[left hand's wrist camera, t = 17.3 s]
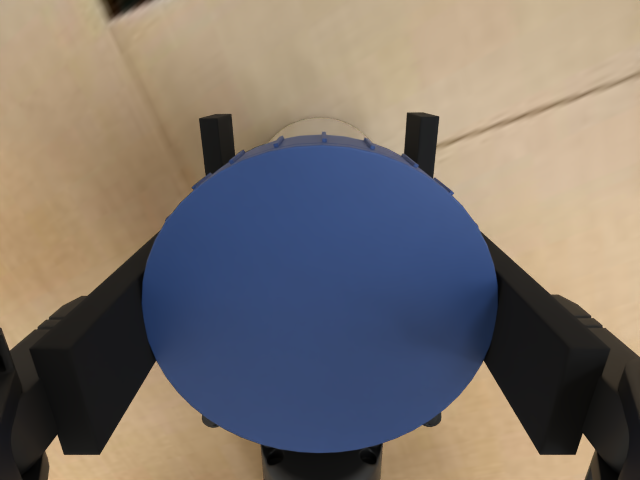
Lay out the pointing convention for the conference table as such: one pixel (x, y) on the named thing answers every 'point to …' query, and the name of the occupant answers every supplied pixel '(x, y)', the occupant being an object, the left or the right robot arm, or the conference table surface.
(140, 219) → the conference table surface
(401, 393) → the lid
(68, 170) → the conference table surface
